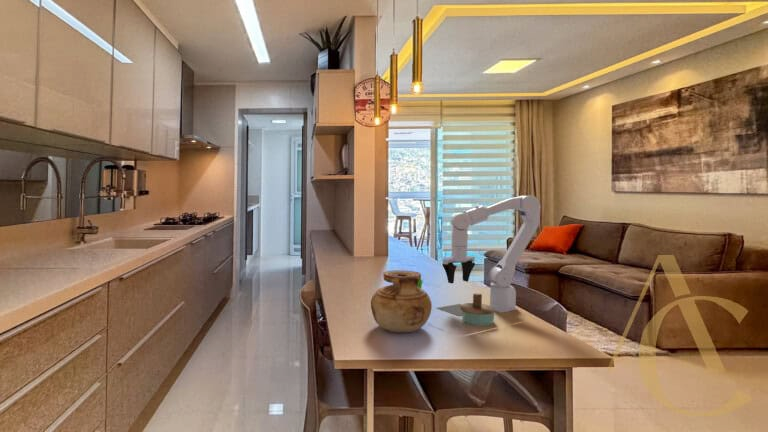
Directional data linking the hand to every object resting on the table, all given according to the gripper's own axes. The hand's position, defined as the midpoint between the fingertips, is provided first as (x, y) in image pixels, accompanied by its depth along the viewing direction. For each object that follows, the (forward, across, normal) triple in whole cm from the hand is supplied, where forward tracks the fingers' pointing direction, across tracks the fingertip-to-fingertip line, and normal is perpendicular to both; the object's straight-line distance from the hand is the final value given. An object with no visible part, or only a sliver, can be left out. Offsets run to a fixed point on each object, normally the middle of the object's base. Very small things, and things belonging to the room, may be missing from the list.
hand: (458, 282), depth 155 cm
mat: (+10, +2, +3) cm, 11 cm away
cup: (+10, +17, -7) cm, 21 cm away
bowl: (+10, +6, +16) cm, 20 cm away
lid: (+6, +6, +15) cm, 17 cm away
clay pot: (+10, +33, +9) cm, 35 cm away
